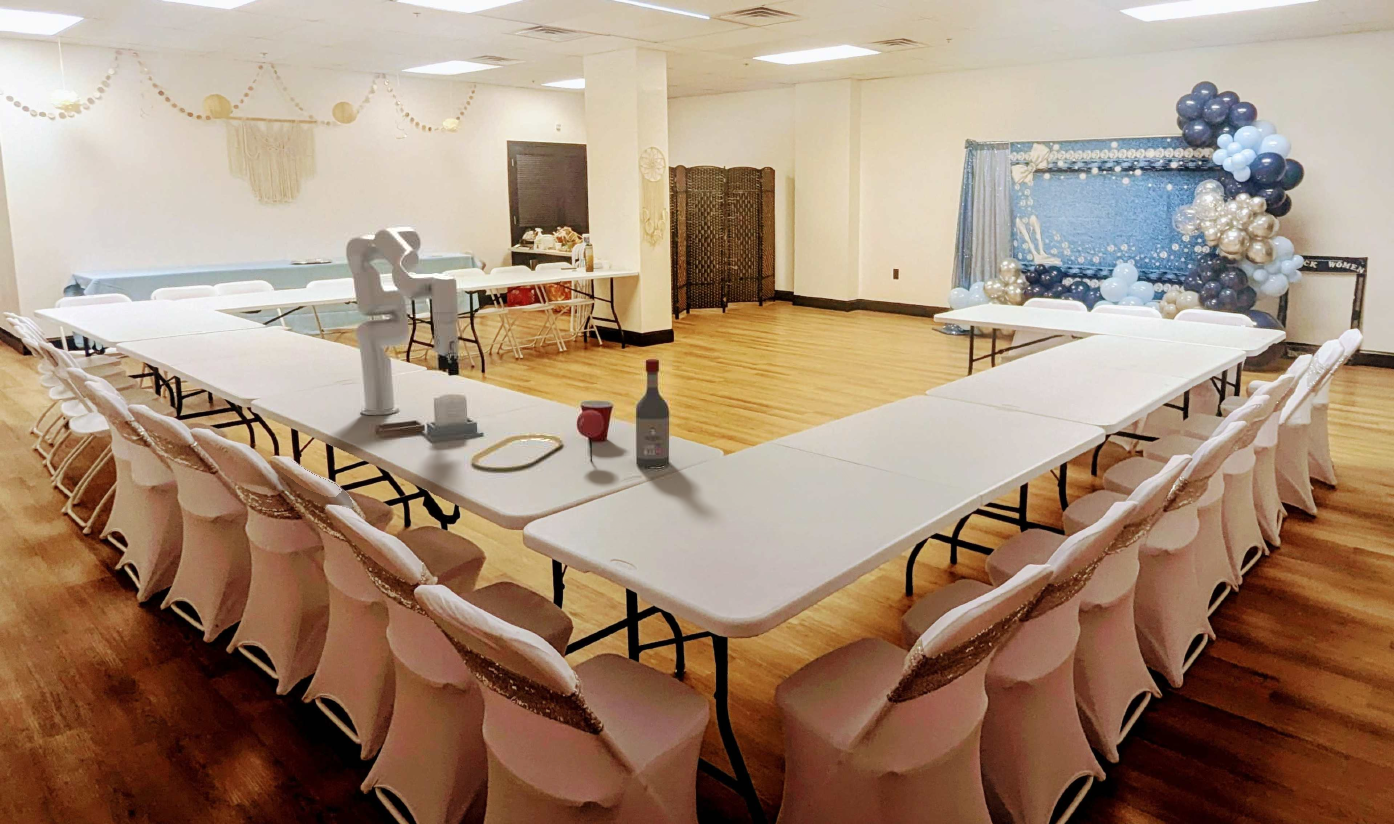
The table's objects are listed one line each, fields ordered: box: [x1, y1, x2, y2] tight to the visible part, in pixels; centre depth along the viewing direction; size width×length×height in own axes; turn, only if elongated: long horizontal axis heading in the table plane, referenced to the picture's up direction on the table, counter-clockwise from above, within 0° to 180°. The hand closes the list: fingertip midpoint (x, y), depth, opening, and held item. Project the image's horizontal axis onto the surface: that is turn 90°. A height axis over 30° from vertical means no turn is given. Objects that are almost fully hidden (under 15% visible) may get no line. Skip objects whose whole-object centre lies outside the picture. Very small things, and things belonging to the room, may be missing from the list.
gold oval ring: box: [470, 433, 564, 471], centre depth 267 cm, size 19×35×2 cm, turn 163°
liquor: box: [635, 358, 670, 469], centre depth 254 cm, size 9×9×30 cm
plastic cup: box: [578, 399, 615, 443], centre depth 281 cm, size 11×11×12 cm
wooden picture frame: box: [374, 419, 426, 439], centre depth 287 cm, size 8×14×2 cm, turn 122°
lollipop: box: [576, 410, 604, 462], centre depth 258 cm, size 8×8×15 cm
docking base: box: [421, 416, 484, 444], centre depth 285 cm, size 12×16×4 cm
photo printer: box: [433, 392, 468, 427], centre depth 284 cm, size 10×4×12 cm, turn 122°
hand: (448, 372), depth 281 cm, fingers open, 9 cm apart
